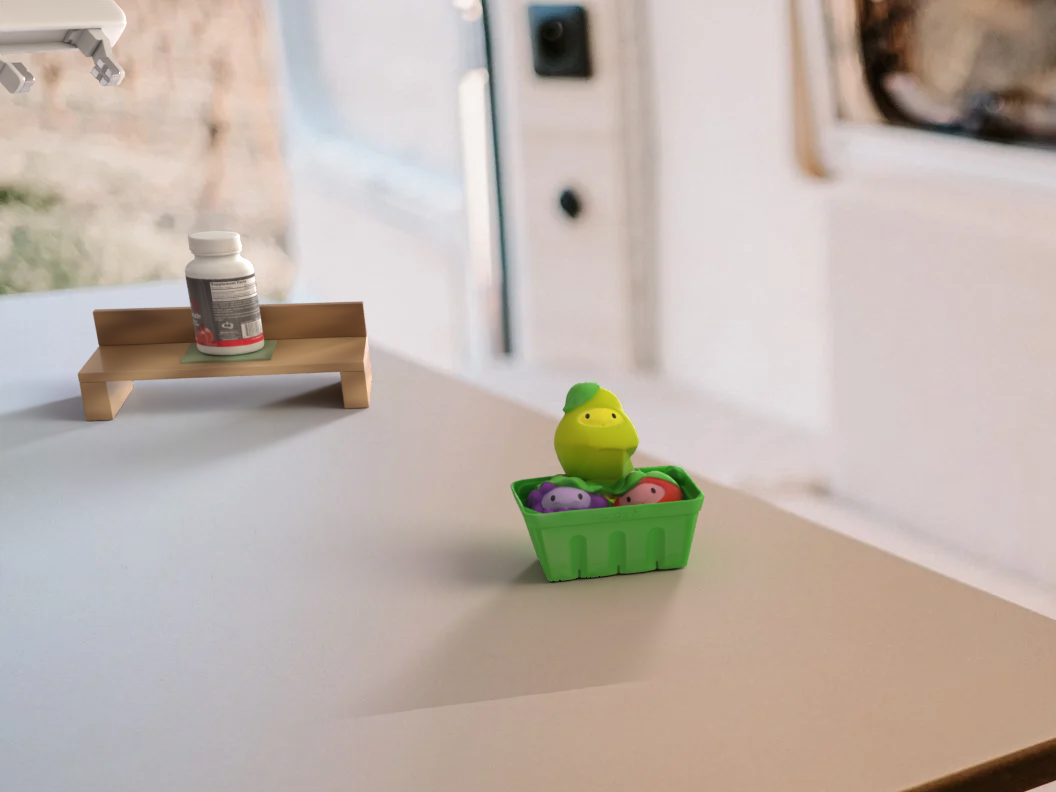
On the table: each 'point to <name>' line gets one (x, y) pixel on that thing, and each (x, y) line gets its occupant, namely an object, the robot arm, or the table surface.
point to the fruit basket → (606, 498)
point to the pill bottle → (223, 295)
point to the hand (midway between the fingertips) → (71, 84)
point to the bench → (171, 353)
